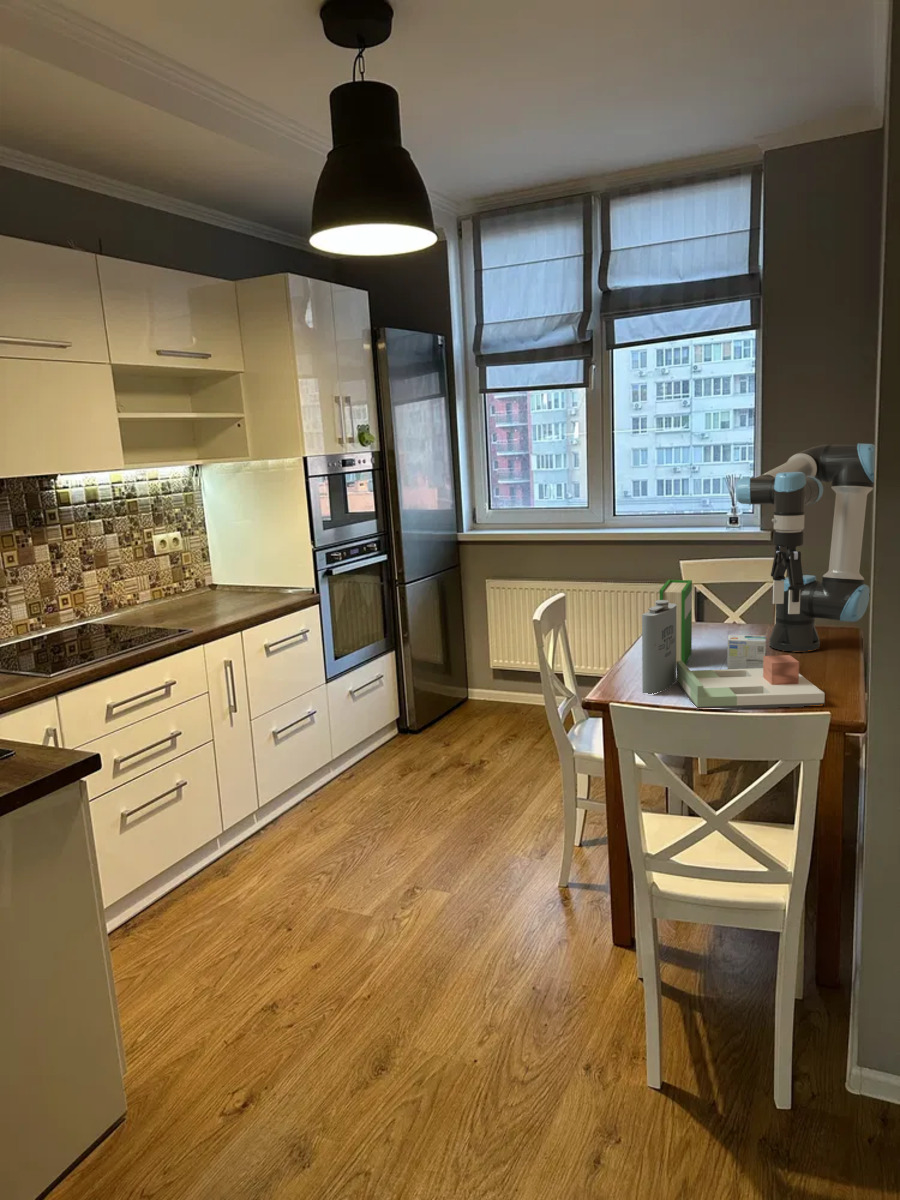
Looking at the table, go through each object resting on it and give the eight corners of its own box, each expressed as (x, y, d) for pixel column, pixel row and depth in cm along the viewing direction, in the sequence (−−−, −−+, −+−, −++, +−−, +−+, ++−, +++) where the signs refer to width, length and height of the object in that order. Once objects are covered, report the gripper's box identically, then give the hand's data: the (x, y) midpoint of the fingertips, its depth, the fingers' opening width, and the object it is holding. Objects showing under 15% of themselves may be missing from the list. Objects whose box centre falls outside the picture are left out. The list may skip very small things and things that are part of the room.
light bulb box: (765, 670, 242) (766, 634, 240) (766, 676, 236) (767, 640, 234) (727, 668, 246) (727, 633, 244) (727, 674, 240) (727, 639, 238)
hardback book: (684, 668, 248) (684, 590, 244) (659, 666, 251) (659, 590, 247) (691, 653, 264) (692, 580, 260) (668, 652, 267) (668, 579, 262)
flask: (656, 696, 224) (656, 607, 219) (640, 693, 227) (640, 605, 222) (680, 679, 237) (681, 595, 232) (665, 677, 240) (665, 594, 235)
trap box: (790, 679, 233) (791, 657, 231) (824, 706, 209) (825, 682, 208) (676, 682, 235) (676, 661, 233) (697, 710, 211) (697, 686, 210)
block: (789, 676, 224) (789, 655, 223) (798, 683, 217) (799, 662, 216) (763, 677, 224) (763, 656, 223) (771, 684, 217) (772, 663, 216)
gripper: (760, 526, 230) (758, 600, 234) (788, 536, 206) (785, 618, 210) (788, 525, 230) (785, 599, 234) (819, 535, 205) (816, 617, 209)
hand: (785, 608), depth 222 cm, fingers open, 13 cm apart
